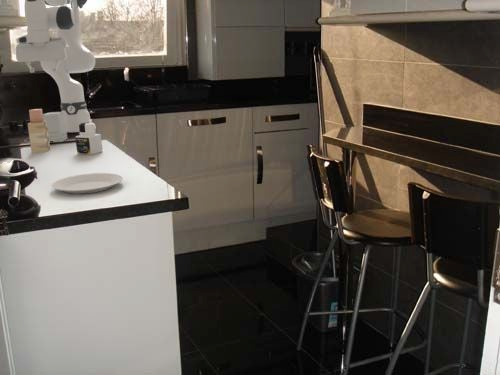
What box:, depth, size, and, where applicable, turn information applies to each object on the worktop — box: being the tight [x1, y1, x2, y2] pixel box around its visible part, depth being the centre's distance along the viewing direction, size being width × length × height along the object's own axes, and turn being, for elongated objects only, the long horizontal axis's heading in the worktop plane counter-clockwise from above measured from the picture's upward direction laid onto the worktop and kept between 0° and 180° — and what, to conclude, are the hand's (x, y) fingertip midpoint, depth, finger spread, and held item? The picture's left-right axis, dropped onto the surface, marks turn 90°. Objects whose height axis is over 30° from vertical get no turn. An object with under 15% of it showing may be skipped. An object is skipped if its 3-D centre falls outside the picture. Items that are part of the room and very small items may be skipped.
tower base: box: [29, 140, 51, 154], centre depth 242 cm, size 6×6×4 cm
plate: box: [51, 172, 124, 195], centre depth 179 cm, size 21×21×2 cm
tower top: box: [27, 121, 48, 134], centre depth 240 cm, size 6×6×4 cm
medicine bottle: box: [74, 121, 103, 156], centre depth 232 cm, size 7×7×12 cm
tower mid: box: [28, 130, 49, 144], centre depth 241 cm, size 6×6×4 cm
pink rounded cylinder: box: [28, 108, 44, 123], centre depth 239 cm, size 5×5×5 cm
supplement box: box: [43, 111, 68, 143], centre depth 264 cm, size 7×7×13 cm
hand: (43, 71), depth 248 cm, fingers open, 8 cm apart
